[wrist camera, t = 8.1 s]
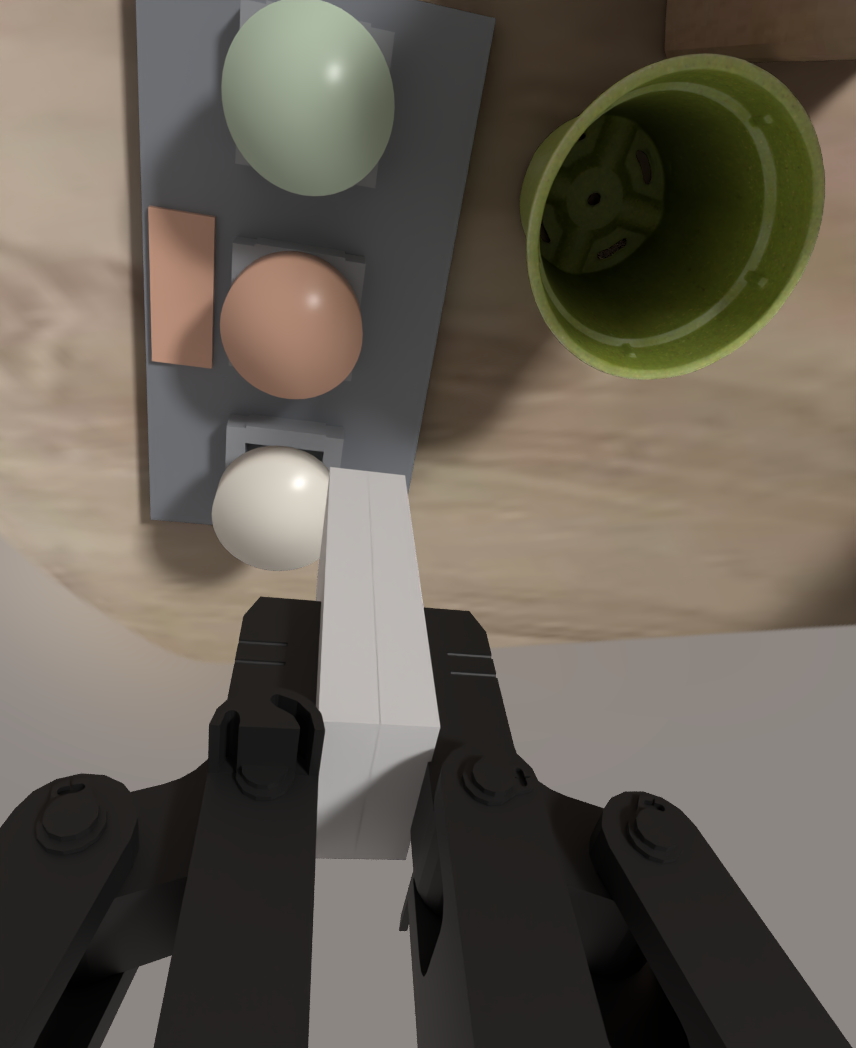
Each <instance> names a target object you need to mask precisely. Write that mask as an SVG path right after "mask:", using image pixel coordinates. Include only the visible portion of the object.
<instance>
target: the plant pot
mask: <svg viewBox="0 0 856 1048" xmlns="http://www.w3.org/2000/svg"><path fill="white" fill-rule="evenodd" d="M584 132H585V134H586V137H585V138H584V139H582V140H580V141H578V142H577V140H578V139H579V138H580V136H581V135H582V134H583V133H584ZM638 150H640V151H643V152H644V153H645V154H646V155H647V157H648V160H649V164H650V167H651V173H652V176H651V181H650V183H649V184H645V183H644V179H643V174H642V169H641V166H640V163H639V161H638V160H637V158H636V152H637V151H638ZM597 192H598V193H599V195H600V196H601V197H600V202H599V203H598V204H596V205H594V206H592V205H590V204H589V203H588V201H587V200H588V198H589V196H590V195H591V194H592V193H597ZM824 199H825V172H824V166H823V159H822V154H821V149H820V145H819V142H818V138H817V135H816V132H815V129H814V127H813V125H812V123H811V120H810V118H809V116H808V114H807V112H806V111H805V109H804V108H803V106H802V105H801V104H800V102H799V101H798V99H797V98H796V97H795V96H794V95H793V93H792V92H791V91H790V90H789V89H788V88H787V87H786V85H784V84H783V83H782V82H781V81H780V80H779V79H777V78H776V77H775V76H773V75H772V74H770V73H769V72H767V71H766V70H764V69H762V68H760V67H758V66H756V65H754V64H752V63H750V62H748V61H746V60H743V59H739V58H736V57H732V56H727V55H720V54H707V53H703V54H690V55H683V56H677V57H673V58H669V59H665V60H662V61H659V62H656V63H653V64H650V65H648V66H646V67H644V68H641V69H639V70H637V71H635V72H633V73H631V74H630V75H628V76H626V77H625V78H623V79H621V80H620V81H618V82H617V83H615V84H614V85H613V86H611V87H610V88H609V89H607V90H606V91H605V92H603V93H602V94H601V95H600V96H599V97H598V98H597V99H595V100H594V101H593V102H592V103H591V104H590V105H589V106H588V107H587V108H586V109H585V110H584V111H583V112H582V113H581V115H580V116H578V117H576V118H573V119H571V120H569V121H568V122H566V123H564V124H563V125H561V126H560V127H558V128H557V129H556V130H555V131H553V132H552V133H551V134H550V135H549V136H548V137H547V138H546V139H545V140H544V141H543V143H542V144H541V145H540V146H539V147H538V149H537V150H536V152H535V153H534V155H533V157H532V159H531V162H530V164H529V167H528V169H527V172H526V174H525V177H524V181H523V185H522V189H521V194H520V217H521V222H522V227H523V230H524V233H525V236H526V259H527V269H528V275H529V281H530V285H531V289H532V293H533V296H534V299H535V301H536V304H537V307H538V309H539V311H540V313H541V315H542V317H543V319H544V321H545V322H546V324H547V326H548V327H549V329H550V330H551V332H552V333H553V334H554V336H555V337H556V338H557V339H558V340H559V342H560V343H561V344H562V345H563V346H564V347H565V348H566V349H567V350H569V351H570V352H571V353H572V354H573V355H574V356H576V357H577V358H579V359H580V360H581V361H583V362H584V363H586V364H587V365H589V366H591V367H593V368H595V369H597V370H599V371H602V372H604V373H607V374H610V375H614V376H618V377H622V378H628V379H638V380H650V379H664V378H670V377H676V376H681V375H685V374H688V373H691V372H694V371H697V370H699V369H702V368H704V367H706V366H708V365H711V364H712V363H714V362H716V361H718V360H720V359H722V358H724V357H726V356H728V355H729V354H730V353H732V352H733V351H735V350H736V349H738V348H739V347H741V346H742V345H743V344H744V343H746V342H747V341H748V340H749V339H750V338H751V337H753V336H754V335H755V334H756V333H758V332H759V331H760V330H761V329H762V328H763V327H764V326H765V325H766V324H767V323H768V322H769V321H770V320H771V319H772V318H773V317H774V316H775V315H776V314H777V312H778V311H779V310H780V308H781V307H782V305H783V304H784V302H785V301H786V299H787V298H788V297H789V295H790V294H791V292H792V291H793V289H794V288H795V286H796V285H797V283H798V282H799V280H800V278H801V276H802V274H803V272H804V270H805V268H806V266H807V264H808V261H809V259H810V256H811V254H812V252H813V249H814V246H815V243H816V240H817V237H818V234H819V229H820V225H821V221H822V215H823V208H824ZM541 221H542V222H543V225H544V228H545V230H546V232H547V234H548V238H550V240H551V241H550V243H548V242H545V241H543V240H542V238H541V237H540V227H541ZM623 238H624V239H627V240H626V245H625V246H624V247H623V248H621V249H619V250H618V251H616V252H615V253H614V254H613V255H612V256H610V257H608V258H605V259H599V258H598V257H597V255H598V253H599V252H601V251H603V250H605V249H607V248H609V247H611V246H613V245H614V244H616V243H618V242H620V241H621V240H622V239H623Z"/></svg>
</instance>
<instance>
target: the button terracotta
mask: <svg viewBox="0 0 856 1048" xmlns="http://www.w3.org/2000/svg"><path fill="white" fill-rule="evenodd" d="M220 333H221V339H222V343H223V346H224V350H225V352H226V354H227V356H228V358H229V360H230V362H231V363H232V365H233V367H234V368H235V369H236V370H237V372H238V373H239V374H240V375H241V376H242V377H243V378H244V379H245V380H246V381H247V382H249V383H250V384H251V385H253V386H254V387H256V388H258V389H259V390H261V391H263V392H265V393H268V394H270V395H273V396H276V397H280V398H286V399H306V398H312V397H316V396H319V395H322V394H324V393H326V392H328V391H330V390H332V389H333V388H335V387H336V386H338V385H339V384H340V383H341V382H342V381H344V379H345V378H346V377H347V376H348V375H349V374H350V372H351V371H352V369H353V368H354V366H355V364H356V362H357V360H358V357H359V354H360V351H361V346H362V338H363V331H362V319H361V311H360V306H359V303H358V300H357V297H356V294H355V292H354V290H353V288H352V287H351V285H350V284H349V282H348V281H347V279H346V278H345V277H344V276H343V275H342V274H341V273H340V272H339V271H338V270H337V269H336V268H335V267H334V266H332V265H331V264H329V263H328V262H327V261H325V260H323V259H321V258H319V257H317V256H314V255H311V254H308V253H304V252H298V251H280V252H274V253H270V254H267V255H264V256H262V257H260V258H258V259H256V260H255V261H253V262H252V263H250V264H249V265H248V266H247V267H246V268H245V269H243V270H242V271H241V273H240V274H239V275H238V277H237V278H236V279H235V281H234V283H233V285H232V287H231V289H230V291H229V293H228V295H227V297H226V299H225V302H224V304H223V307H222V312H221V318H220Z"/></svg>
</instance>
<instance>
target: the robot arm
mask: <svg viewBox="0 0 856 1048" xmlns="http://www.w3.org/2000/svg"><path fill="white" fill-rule="evenodd" d="M410 841H411V845H412V859H413V874H412V877H411V881H410V885H409V888H408V892H407V895H406V899H405V903H404V906H403V910H402V914H401V920H400V927H399V931H407V929H408V925H410V926H409V927H410V942H411V956H412V971H413V984H414V1000H415V1014H416V1028H417V1044H418V1048H852V1047H851V1045H850V1044H849V1042H848V1041H847V1040H846V1039H845V1037H844V1035H843V1034H842V1033H841V1031H840V1030H839V1028H838V1027H837V1025H836V1024H835V1023H834V1021H833V1020H832V1019H831V1017H830V1016H829V1014H828V1013H827V1011H826V1010H825V1009H824V1007H823V1006H822V1004H821V1003H820V1001H819V1000H818V999H817V997H816V996H815V994H814V993H813V992H812V990H811V989H810V987H809V986H808V985H807V983H806V982H805V980H804V979H803V977H802V976H801V974H800V973H799V972H798V970H797V969H796V967H795V966H794V965H793V963H792V962H791V960H790V959H789V957H788V956H787V955H786V953H785V952H784V950H783V949H782V948H781V946H780V945H779V943H778V942H777V940H776V939H775V938H774V936H773V935H772V933H771V932H770V931H769V929H768V928H767V926H766V925H765V923H764V922H763V921H762V919H761V918H760V916H759V915H758V914H757V912H756V911H755V909H754V908H753V907H752V905H751V904H750V902H749V901H748V899H747V898H746V897H745V895H744V894H743V892H742V891H741V890H740V888H739V887H738V885H737V884H736V882H735V881H734V880H733V878H732V877H731V876H730V874H729V873H728V871H727V870H726V868H725V867H724V866H723V864H722V863H721V861H720V860H719V858H718V857H717V855H716V854H715V853H714V851H713V850H712V848H711V847H710V846H709V844H708V843H707V841H706V840H705V838H704V837H703V836H702V834H701V833H700V831H699V830H698V829H697V827H696V826H695V825H694V824H693V823H692V822H691V820H690V819H689V818H688V817H687V816H686V815H685V814H684V813H683V812H682V811H681V810H680V809H679V808H677V807H676V806H674V805H673V804H671V803H669V802H668V801H666V800H665V799H663V798H661V797H658V796H655V795H652V794H649V793H646V792H623V793H621V794H619V795H617V796H615V797H612V798H611V799H610V800H609V802H608V803H607V805H606V806H605V808H601V807H598V806H595V805H592V804H589V803H586V802H583V801H579V800H577V799H573V798H570V797H567V796H565V795H562V794H560V793H558V792H556V791H553V790H551V789H549V788H548V787H546V786H545V785H543V784H542V783H540V782H539V781H538V780H537V777H536V776H535V773H534V771H533V769H532V768H531V767H530V766H529V765H528V764H527V763H526V762H525V761H524V760H523V759H522V758H521V757H520V756H519V755H517V753H516V750H515V748H514V744H513V740H512V736H511V732H510V728H509V724H508V720H507V716H506V712H505V708H504V704H503V699H502V696H501V691H500V688H499V684H498V679H497V678H496V671H495V667H494V663H493V659H491V651H490V647H489V642H488V638H487V634H486V631H485V630H484V629H483V628H482V626H481V625H480V624H479V623H478V621H477V620H476V619H475V618H474V616H473V615H472V614H471V613H470V611H460V610H448V609H435V608H424V607H423V600H422V593H421V586H420V579H419V572H418V565H417V557H416V550H415V543H414V536H413V529H412V522H411V515H410V507H409V500H408V493H407V486H406V479H405V475H397V474H388V473H380V472H371V471H362V470H353V469H344V468H335V467H330V473H329V482H328V490H327V499H326V507H325V516H324V524H323V533H322V542H321V550H320V559H319V567H318V576H317V590H316V601H309V600H297V599H284V598H271V597H260V598H259V599H258V600H257V601H256V602H255V603H254V605H253V606H252V607H251V608H250V609H249V610H248V611H247V613H246V614H245V615H244V616H243V621H242V627H241V632H240V637H239V644H238V647H237V652H236V657H235V664H234V668H233V673H232V678H231V684H230V689H229V694H228V699H227V700H226V701H225V702H224V703H223V704H222V705H221V706H219V707H218V708H217V710H216V712H215V714H214V716H213V718H212V720H211V722H210V724H209V751H208V760H207V761H205V762H204V763H203V764H202V765H201V766H199V767H198V768H197V769H196V770H194V771H193V772H191V773H189V774H187V775H186V776H184V777H182V778H180V779H177V780H174V781H171V782H169V783H166V784H162V785H158V786H154V787H150V788H146V789H141V790H137V791H133V792H130V791H129V790H128V789H127V788H126V786H125V785H124V784H123V783H121V782H119V781H116V780H114V779H112V778H110V777H107V776H105V775H95V774H77V775H73V776H69V777H65V778H59V779H56V780H54V781H52V782H50V783H48V784H46V785H44V786H42V787H41V788H39V789H37V790H35V791H33V792H32V793H31V794H30V795H29V796H28V797H27V798H26V799H25V800H24V801H23V802H21V803H20V804H19V805H18V806H17V807H16V808H15V809H14V811H13V812H12V813H11V814H10V816H9V817H8V818H7V820H6V821H5V822H4V824H3V825H2V826H1V828H0V1048H100V1047H101V1045H102V1043H103V1041H104V1038H105V1036H106V1034H107V1032H108V1030H109V1028H110V1026H111V1024H112V1022H113V1020H114V1018H115V1015H116V1013H117V1011H118V1009H119V1007H120V1005H121V1003H122V1001H123V999H124V997H125V994H126V992H127V990H128V988H129V986H130V984H131V982H132V980H133V978H134V975H135V973H136V971H137V969H138V967H139V966H142V965H145V964H147V963H151V962H153V961H156V960H159V959H162V958H165V957H168V956H171V955H172V957H171V962H170V967H169V972H168V977H167V983H166V988H165V993H164V998H163V1003H162V1008H161V1013H160V1018H159V1023H158V1028H157V1033H156V1038H155V1043H154V1048H308V1036H309V1035H308V1034H309V1010H310V984H311V959H312V958H311V957H312V933H313V908H314V883H315V882H314V881H315V858H334V859H337V858H338V859H388V860H406V856H407V852H408V848H409V845H410Z"/></svg>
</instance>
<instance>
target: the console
mask: <svg viewBox="0 0 856 1048" xmlns="http://www.w3.org/2000/svg"><path fill="white" fill-rule="evenodd" d="M277 1H280V0H136V26H137V61H138V96H139V131H140V166H141V201H142V236H143V270H144V305H145V340H146V375H147V410H148V445H149V479H150V514H151V520H162V521H174V522H185V523H196V524H208V525H213V523H212V506H213V503H214V499H215V495H216V492H217V489H218V485H219V482H220V479H221V477H222V475H223V473H224V471H225V470H226V468H227V467H228V466H229V465H230V464H231V462H233V461H234V460H235V459H236V458H237V457H239V456H241V455H242V454H244V453H246V452H248V451H250V450H253V449H256V448H259V447H264V446H275V445H276V446H288V447H293V448H296V449H300V450H302V451H305V452H307V453H309V454H311V455H313V456H314V457H316V458H317V459H318V460H320V461H321V462H322V463H323V464H324V465H325V466H326V467H327V468H328V469H329V470H330V467H335V468H344V469H353V470H362V471H371V472H380V473H388V474H397V475H405V479H406V486H407V493H409V487H410V482H411V476H412V471H413V466H414V460H415V455H416V449H417V444H418V438H419V433H420V428H421V422H422V417H423V411H424V406H425V400H426V395H427V390H428V384H429V379H430V373H431V368H432V363H433V357H434V352H435V346H436V341H437V335H438V330H439V325H440V319H441V314H442V308H443V303H444V298H445V292H446V287H447V281H448V276H449V270H450V265H451V260H452V254H453V249H454V243H455V238H456V232H457V227H458V222H459V216H460V211H461V205H462V200H463V195H464V189H465V184H466V178H467V173H468V167H469V162H470V157H471V151H472V146H473V140H474V135H475V129H476V124H477V119H478V113H479V108H480V102H481V97H482V92H483V86H484V81H485V75H486V70H487V64H488V59H489V54H490V48H491V43H492V37H493V32H494V26H495V21H496V18H492V17H488V16H484V15H479V14H475V13H471V12H466V11H462V10H458V9H453V8H449V7H444V6H440V5H436V4H431V3H427V2H423V1H418V0H321V1H325V2H328V3H331V4H333V5H335V6H337V7H339V8H341V9H342V10H344V11H346V12H347V13H349V14H350V15H352V16H353V17H354V18H355V19H356V20H357V21H358V22H360V23H361V24H362V25H363V26H364V28H365V29H366V30H367V31H368V32H369V33H370V34H371V36H372V37H373V39H374V40H375V42H376V43H377V45H378V46H379V48H380V50H381V52H382V54H383V56H384V58H385V61H386V63H387V66H388V68H389V72H390V75H391V79H392V84H393V90H394V105H395V109H394V121H393V126H392V131H391V135H390V138H389V141H388V144H387V146H386V148H385V150H384V153H383V155H382V156H381V158H380V159H379V161H378V163H377V164H376V165H375V167H374V168H373V169H372V170H371V171H370V173H369V174H367V175H366V176H365V177H364V178H363V179H362V180H361V181H359V182H358V183H356V184H355V185H354V186H352V187H350V188H348V189H346V190H344V191H341V192H338V193H335V194H331V195H325V196H306V195H300V194H296V193H292V192H289V191H286V190H284V189H281V188H280V187H278V186H276V185H274V184H272V183H271V182H269V181H268V180H266V179H265V178H264V177H262V176H261V175H260V174H259V173H258V172H257V171H256V170H255V169H254V168H253V167H252V166H251V165H250V164H249V163H248V162H247V160H246V159H245V158H244V157H243V155H242V154H241V152H240V151H239V149H238V147H237V146H236V144H235V142H234V140H233V138H232V136H231V133H230V131H229V128H228V126H227V122H226V118H225V115H224V110H223V103H222V89H221V84H222V72H223V68H224V63H225V59H226V56H227V53H228V50H229V47H230V45H231V43H232V41H233V39H234V37H235V36H236V34H237V33H238V31H239V30H240V28H241V27H242V26H243V25H244V24H245V22H246V21H247V20H248V19H249V18H250V17H251V16H253V15H254V14H255V13H256V12H258V11H259V10H260V9H262V8H264V7H266V6H268V5H269V4H272V3H274V2H277ZM280 251H298V252H304V253H308V254H311V255H314V256H317V257H319V258H321V259H323V260H325V261H327V262H328V263H329V264H331V265H332V266H334V267H335V268H336V269H337V270H338V271H339V272H340V273H341V274H342V275H343V276H344V277H345V278H346V279H347V281H348V282H349V284H350V285H351V287H352V288H353V290H354V292H355V294H356V297H357V300H358V303H359V306H360V311H361V319H362V331H363V338H362V346H361V351H360V354H359V357H358V360H357V362H356V364H355V366H354V368H353V369H352V371H351V372H350V374H349V375H348V376H347V377H346V378H345V379H344V381H342V382H341V383H340V384H339V385H338V386H336V387H335V388H333V389H332V390H330V391H328V392H326V393H324V394H322V395H319V396H316V397H312V398H306V399H286V398H280V397H276V396H273V395H270V394H268V393H265V392H263V391H261V390H259V389H258V388H256V387H254V386H253V385H251V384H250V383H249V382H247V381H246V380H245V379H244V378H243V377H242V376H241V375H240V374H239V373H238V372H237V370H236V369H235V368H234V367H233V365H232V363H231V362H230V360H229V358H228V356H227V354H226V352H225V350H224V346H223V343H222V339H221V333H220V318H221V312H222V307H223V304H224V302H225V299H226V297H227V295H228V293H229V291H230V289H231V287H232V285H233V283H234V281H235V279H236V278H237V277H238V275H239V274H240V273H241V271H242V270H243V269H245V268H246V267H247V266H248V265H249V264H250V263H252V262H253V261H255V260H256V259H258V258H260V257H262V256H264V255H267V254H270V253H274V252H280Z"/></svg>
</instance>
